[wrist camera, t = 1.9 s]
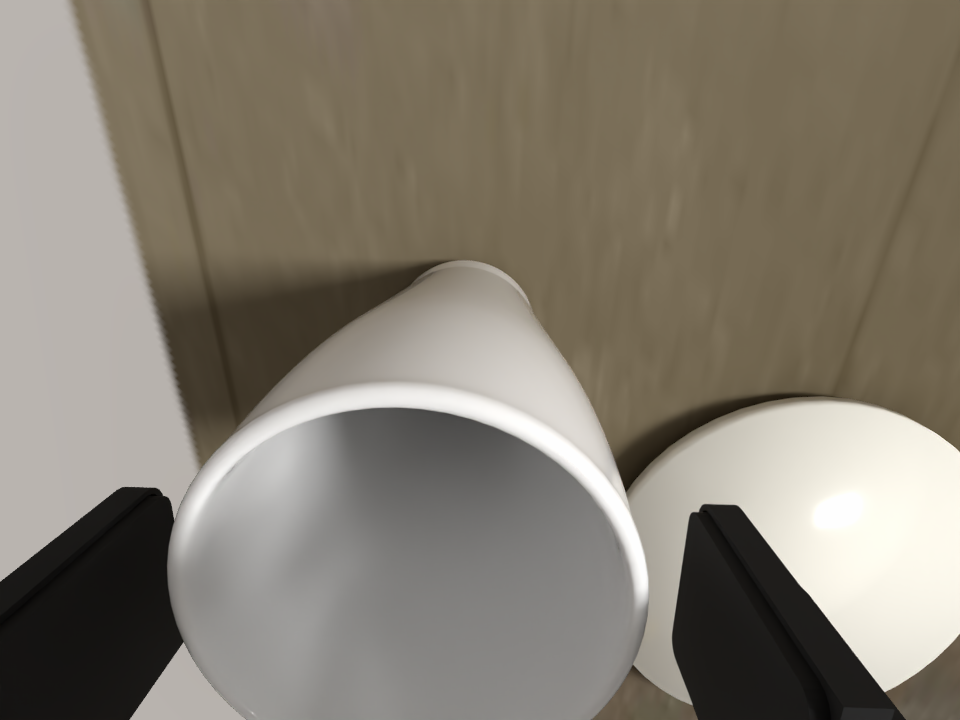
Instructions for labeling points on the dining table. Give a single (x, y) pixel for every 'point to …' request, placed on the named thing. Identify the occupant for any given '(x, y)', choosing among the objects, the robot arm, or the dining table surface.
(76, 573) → the robot arm
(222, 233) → the dining table surface
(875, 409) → the cream dish
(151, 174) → the dining table surface
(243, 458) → the white cup
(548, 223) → the dining table surface
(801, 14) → the dining table surface
